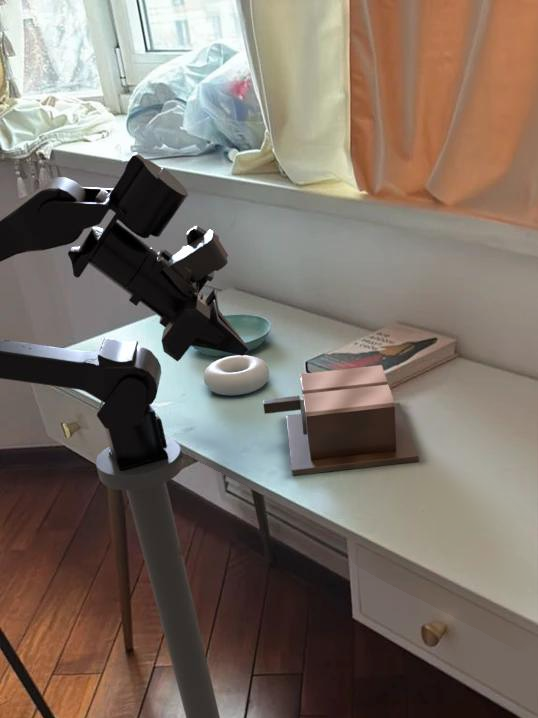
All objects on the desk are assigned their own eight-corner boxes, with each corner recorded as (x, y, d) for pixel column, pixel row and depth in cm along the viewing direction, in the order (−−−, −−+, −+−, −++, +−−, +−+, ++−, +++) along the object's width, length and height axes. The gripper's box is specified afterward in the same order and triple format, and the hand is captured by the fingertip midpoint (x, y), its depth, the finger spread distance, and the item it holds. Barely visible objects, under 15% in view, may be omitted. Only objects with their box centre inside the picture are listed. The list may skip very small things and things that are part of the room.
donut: (240, 368, 136) (192, 389, 130) (238, 347, 134) (188, 367, 128) (284, 382, 130) (235, 404, 124) (281, 360, 128) (231, 382, 122)
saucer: (178, 339, 148) (175, 324, 146) (259, 323, 151) (257, 308, 150) (198, 368, 137) (195, 352, 135) (284, 349, 140) (283, 334, 139)
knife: (268, 440, 111) (263, 403, 108) (268, 436, 112) (263, 399, 109) (389, 427, 112) (387, 390, 108) (387, 422, 113) (385, 385, 110)
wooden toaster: (292, 475, 106) (285, 421, 102) (287, 420, 119) (280, 370, 115) (418, 461, 107) (417, 407, 102) (400, 407, 119) (398, 357, 115)
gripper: (172, 232, 87) (290, 328, 94) (182, 192, 102) (284, 277, 109) (112, 316, 91) (230, 401, 98) (130, 266, 106) (231, 343, 113)
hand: (246, 351), depth 104 cm, fingers closed
